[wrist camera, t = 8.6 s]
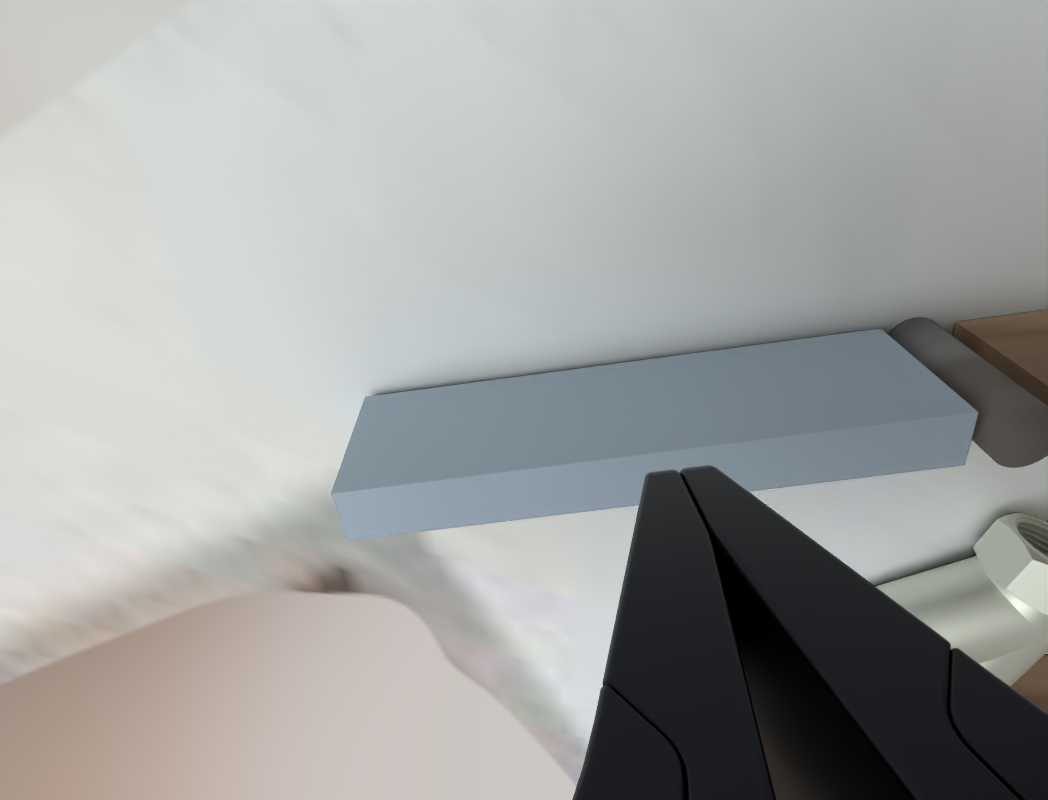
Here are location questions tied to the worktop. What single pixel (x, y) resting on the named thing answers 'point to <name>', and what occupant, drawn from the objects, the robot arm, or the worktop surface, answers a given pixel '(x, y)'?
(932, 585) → the pipe fitting
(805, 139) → the worktop surface
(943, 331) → the rectangular wooden tray
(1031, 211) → the worktop surface
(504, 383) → the grey rectangular bar
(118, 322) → the worktop surface
